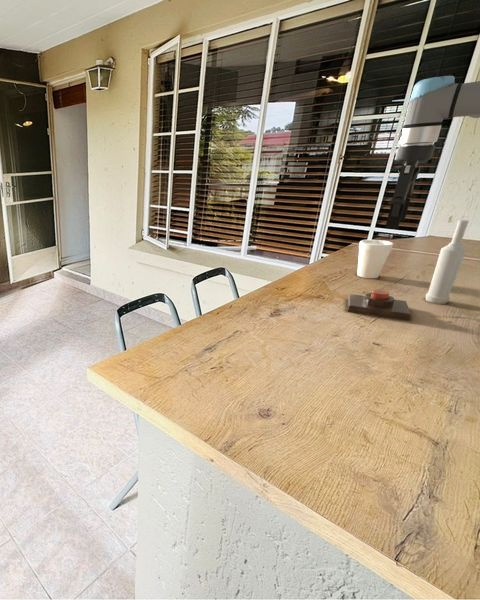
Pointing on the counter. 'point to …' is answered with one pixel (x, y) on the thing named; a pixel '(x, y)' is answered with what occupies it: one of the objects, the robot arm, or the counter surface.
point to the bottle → (447, 267)
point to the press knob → (380, 294)
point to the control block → (378, 306)
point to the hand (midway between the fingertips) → (395, 224)
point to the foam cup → (372, 257)
